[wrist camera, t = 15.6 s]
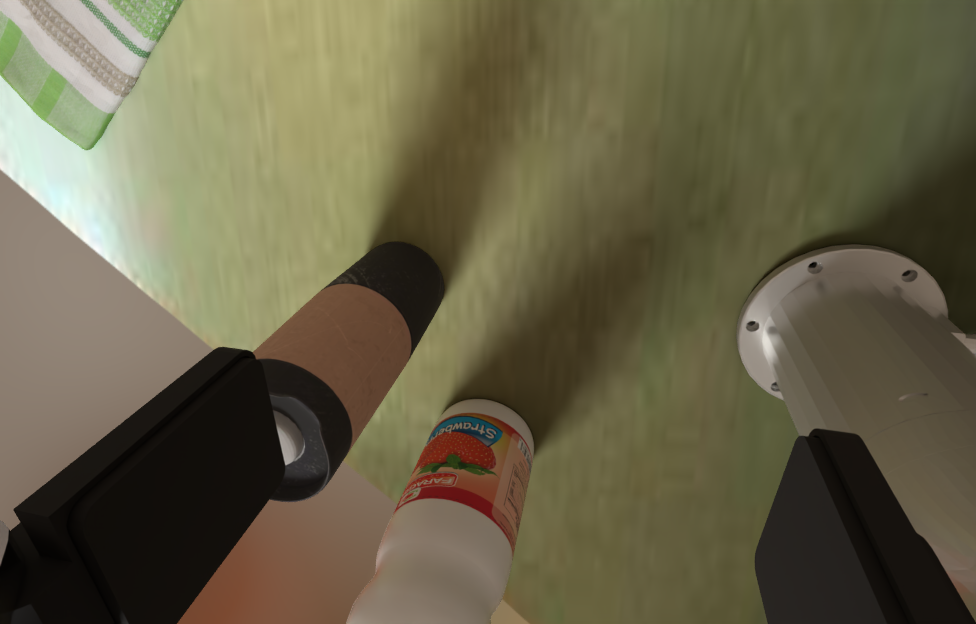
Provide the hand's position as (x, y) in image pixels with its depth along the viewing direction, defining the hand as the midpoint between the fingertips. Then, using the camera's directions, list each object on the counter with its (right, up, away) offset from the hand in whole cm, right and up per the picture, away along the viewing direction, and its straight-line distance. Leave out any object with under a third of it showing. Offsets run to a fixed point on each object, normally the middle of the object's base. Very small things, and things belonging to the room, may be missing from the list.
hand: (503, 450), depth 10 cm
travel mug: (-7, +5, +35) cm, 36 cm away
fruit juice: (0, -9, +40) cm, 41 cm away
